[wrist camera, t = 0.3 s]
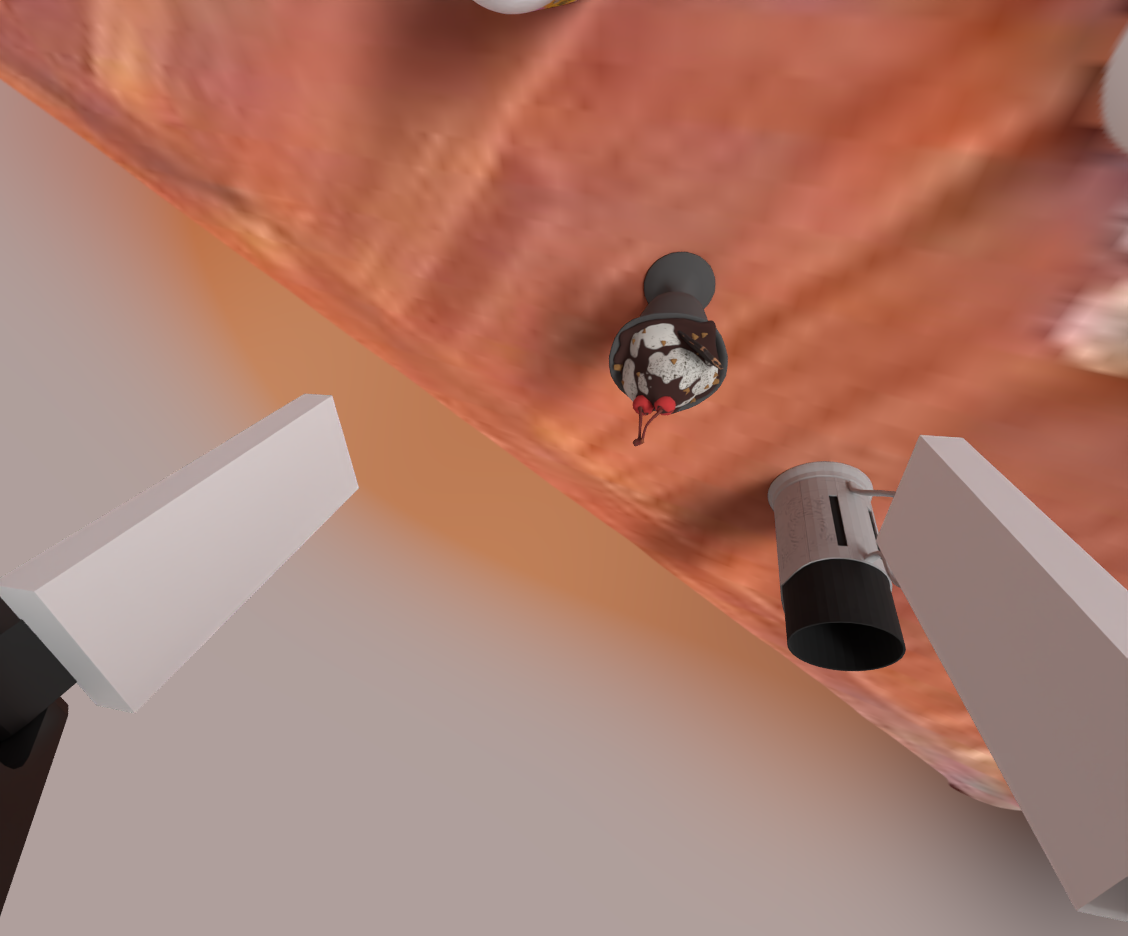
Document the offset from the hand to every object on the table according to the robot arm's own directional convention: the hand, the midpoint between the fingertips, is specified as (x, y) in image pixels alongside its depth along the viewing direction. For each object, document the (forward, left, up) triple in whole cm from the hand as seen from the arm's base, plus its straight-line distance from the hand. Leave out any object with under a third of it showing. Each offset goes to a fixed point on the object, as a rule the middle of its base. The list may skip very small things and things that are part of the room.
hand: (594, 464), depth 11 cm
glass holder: (+6, +29, -26) cm, 40 cm away
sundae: (+5, +6, -26) cm, 28 cm away
